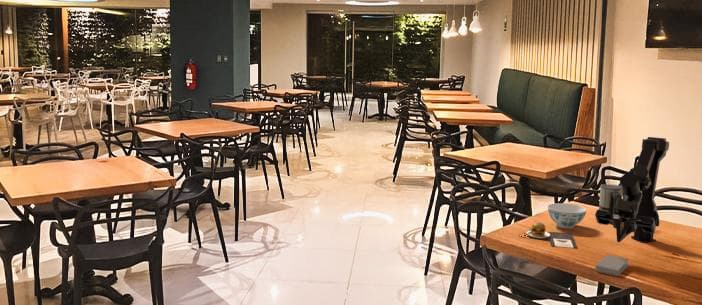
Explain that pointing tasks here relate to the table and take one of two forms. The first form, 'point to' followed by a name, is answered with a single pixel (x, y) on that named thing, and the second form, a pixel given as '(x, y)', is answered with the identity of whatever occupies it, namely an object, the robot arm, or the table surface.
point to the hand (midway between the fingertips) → (618, 241)
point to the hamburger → (537, 232)
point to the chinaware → (566, 214)
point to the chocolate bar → (562, 240)
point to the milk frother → (609, 197)
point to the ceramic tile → (612, 265)
